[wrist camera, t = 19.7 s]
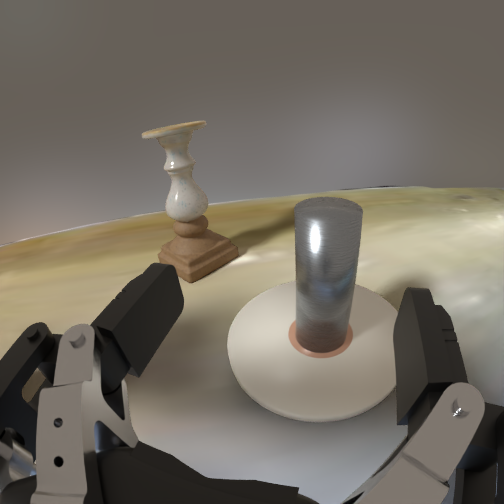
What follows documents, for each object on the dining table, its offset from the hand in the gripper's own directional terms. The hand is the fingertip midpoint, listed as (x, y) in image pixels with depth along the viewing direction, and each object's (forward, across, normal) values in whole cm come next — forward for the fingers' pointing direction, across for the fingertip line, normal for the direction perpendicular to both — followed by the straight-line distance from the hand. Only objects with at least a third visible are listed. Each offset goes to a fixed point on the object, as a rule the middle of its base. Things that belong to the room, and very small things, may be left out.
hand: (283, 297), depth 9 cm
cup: (+14, -1, +16) cm, 21 cm away
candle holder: (+31, +22, +20) cm, 43 cm away
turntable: (+14, -1, +18) cm, 23 cm away
